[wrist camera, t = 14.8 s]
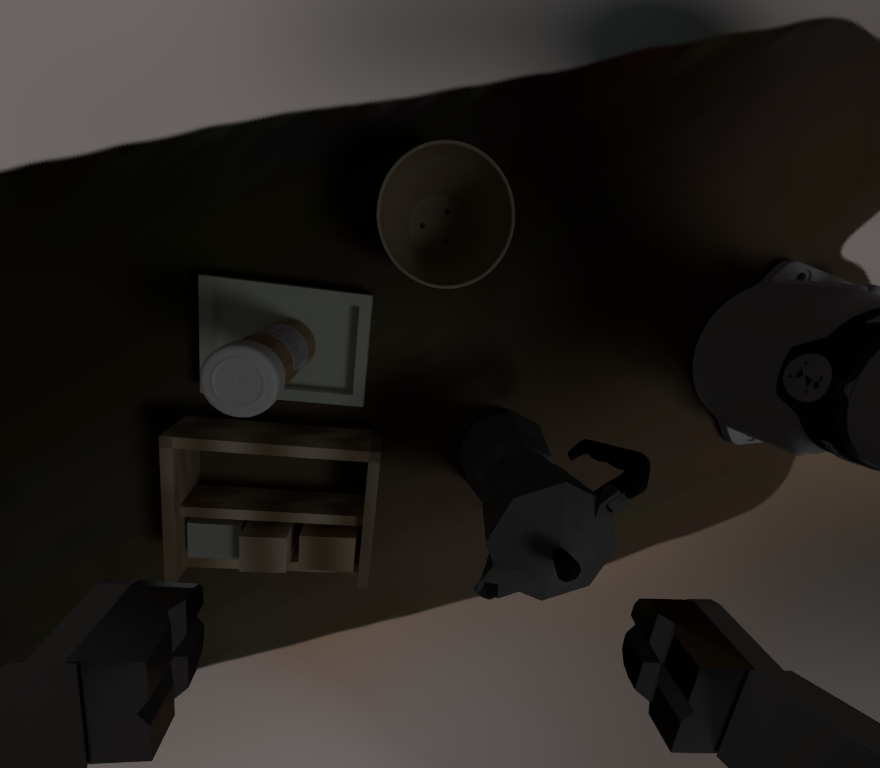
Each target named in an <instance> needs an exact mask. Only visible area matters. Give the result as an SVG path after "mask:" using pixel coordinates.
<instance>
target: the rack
mask: <svg viewBox="0 0 880 768" xmlns="http://www.w3.org/2000/svg"><path fill="white" fill-rule="evenodd" d="M382 433H383V431H373V430H360V429H348V428H336V427H323V426H311V425H299V424H286V423H274V422H262V421H249V420H237V419H225V418H212V417H200V416H188V415H187V416H186V417H184V418H183V419H182V420H180V421H179V422H177V423H176V424H175V425H173V426H172V427H170V428H169V429H168V430H166V431H165V432H164V433H162V434H161V435H159V458H160V482H161V505H162V529H163V552H164V576H165V581H169V582H177V581H178V579H179V578H180V576H181V575H182V573H183V572H184V570H185V569H186V567H206V568H231V569H239V560H235V559H212V558H188V538H187V523H188V521H189V520H190V519H191V518H192V517H197V518H216V519H235V520H254V521H273V522H292V523H311V524H330V525H349V526H363V527H362V538H361V546H357V547H356V554H355V561H354V568H353V572H346V571H318V570H298V560H299V543H296V545H295V548H294V551H293V553H292V556H291V559H290V562H289V565H288V567H287V570H286V571H309V572H335V573H358V581H357V588H368V579H369V569H370V559H371V548H372V538H373V528H374V518H375V508H376V498H377V488H378V478H379V468H380V457H381V446H382ZM199 450H202V451H216V452H230V453H244V454H258V455H272V456H286V457H300V458H314V459H328V460H342V461H356V462H368V472H367V483H366V494H365V495H363V494H347V493H331V492H315V491H299V490H283V489H267V488H251V487H234V486H218V485H202V484H200V470H199Z"/></svg>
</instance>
